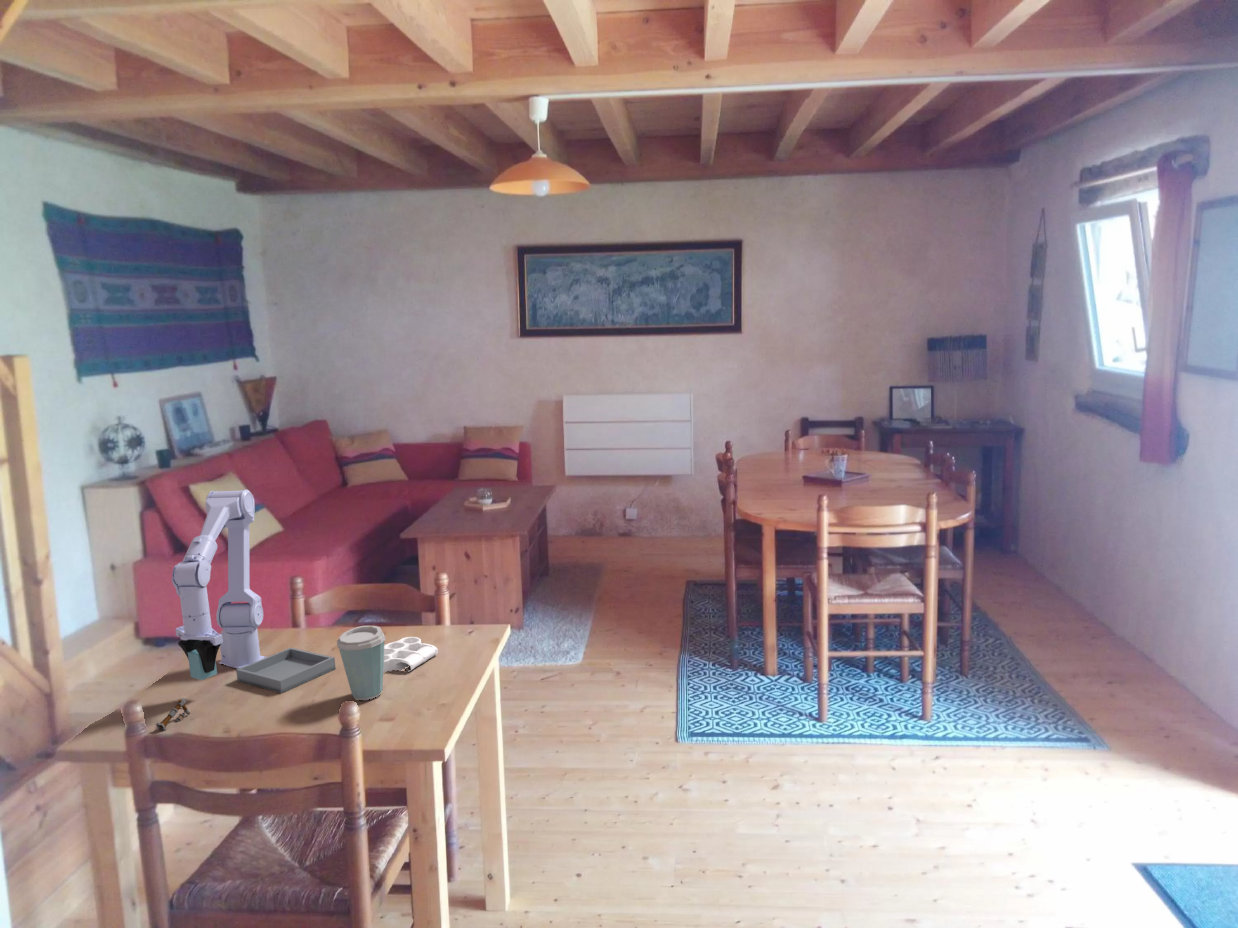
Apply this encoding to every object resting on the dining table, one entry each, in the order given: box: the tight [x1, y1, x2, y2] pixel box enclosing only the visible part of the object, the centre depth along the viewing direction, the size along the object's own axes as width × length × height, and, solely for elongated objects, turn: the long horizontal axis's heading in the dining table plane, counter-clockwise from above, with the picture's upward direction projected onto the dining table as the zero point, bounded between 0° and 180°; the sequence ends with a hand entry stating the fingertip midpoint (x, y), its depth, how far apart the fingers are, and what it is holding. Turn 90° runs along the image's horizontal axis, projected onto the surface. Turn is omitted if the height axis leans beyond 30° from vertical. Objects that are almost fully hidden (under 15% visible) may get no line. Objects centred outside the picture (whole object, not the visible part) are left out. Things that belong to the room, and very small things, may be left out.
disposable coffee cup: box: [336, 625, 387, 701], centre depth 209 cm, size 11×11×15 cm
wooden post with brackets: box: [155, 697, 191, 731], centre depth 200 cm, size 2×8×4 cm, turn 160°
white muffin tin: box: [383, 636, 439, 674], centre depth 230 cm, size 3×18×15 cm
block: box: [187, 650, 218, 681], centre depth 212 cm, size 4×4×6 cm
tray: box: [236, 647, 337, 694], centre depth 224 cm, size 16×16×3 cm
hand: (203, 669), depth 212 cm, fingers closed on block, 4 cm apart
